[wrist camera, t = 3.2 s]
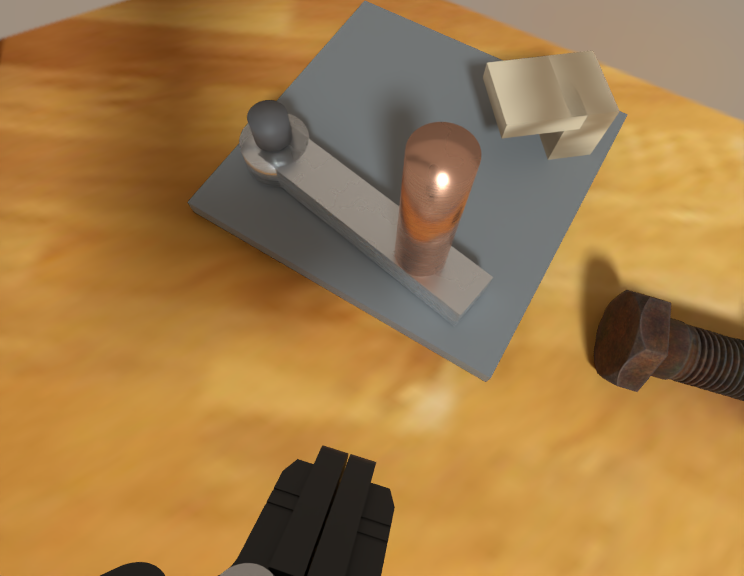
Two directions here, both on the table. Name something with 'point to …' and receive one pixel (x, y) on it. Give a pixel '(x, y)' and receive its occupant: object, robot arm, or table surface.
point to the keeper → (552, 101)
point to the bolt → (664, 348)
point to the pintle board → (384, 172)
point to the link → (391, 207)
